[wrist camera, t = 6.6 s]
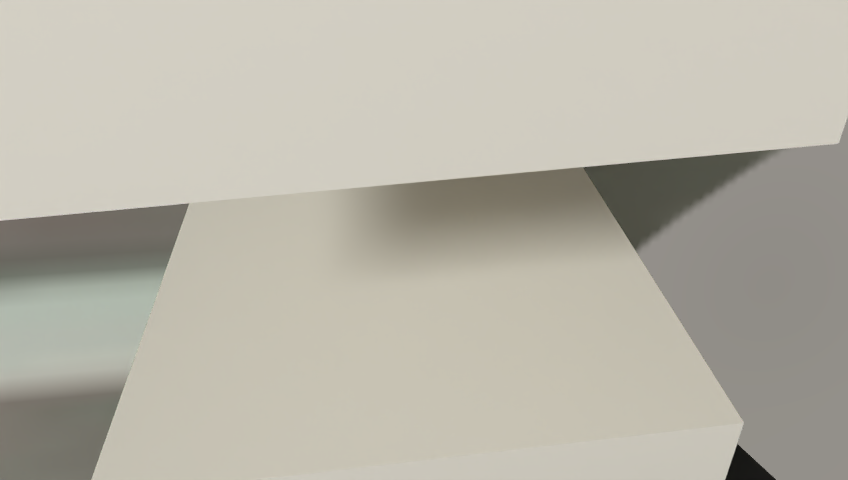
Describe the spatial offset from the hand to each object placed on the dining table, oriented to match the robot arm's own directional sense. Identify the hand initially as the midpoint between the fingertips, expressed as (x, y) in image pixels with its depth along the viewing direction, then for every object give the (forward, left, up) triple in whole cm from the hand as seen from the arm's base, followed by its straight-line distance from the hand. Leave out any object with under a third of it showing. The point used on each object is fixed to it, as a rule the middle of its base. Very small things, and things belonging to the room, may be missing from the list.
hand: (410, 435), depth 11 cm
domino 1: (+7, +3, -3) cm, 8 cm away
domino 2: (+4, +2, -3) cm, 5 cm away
